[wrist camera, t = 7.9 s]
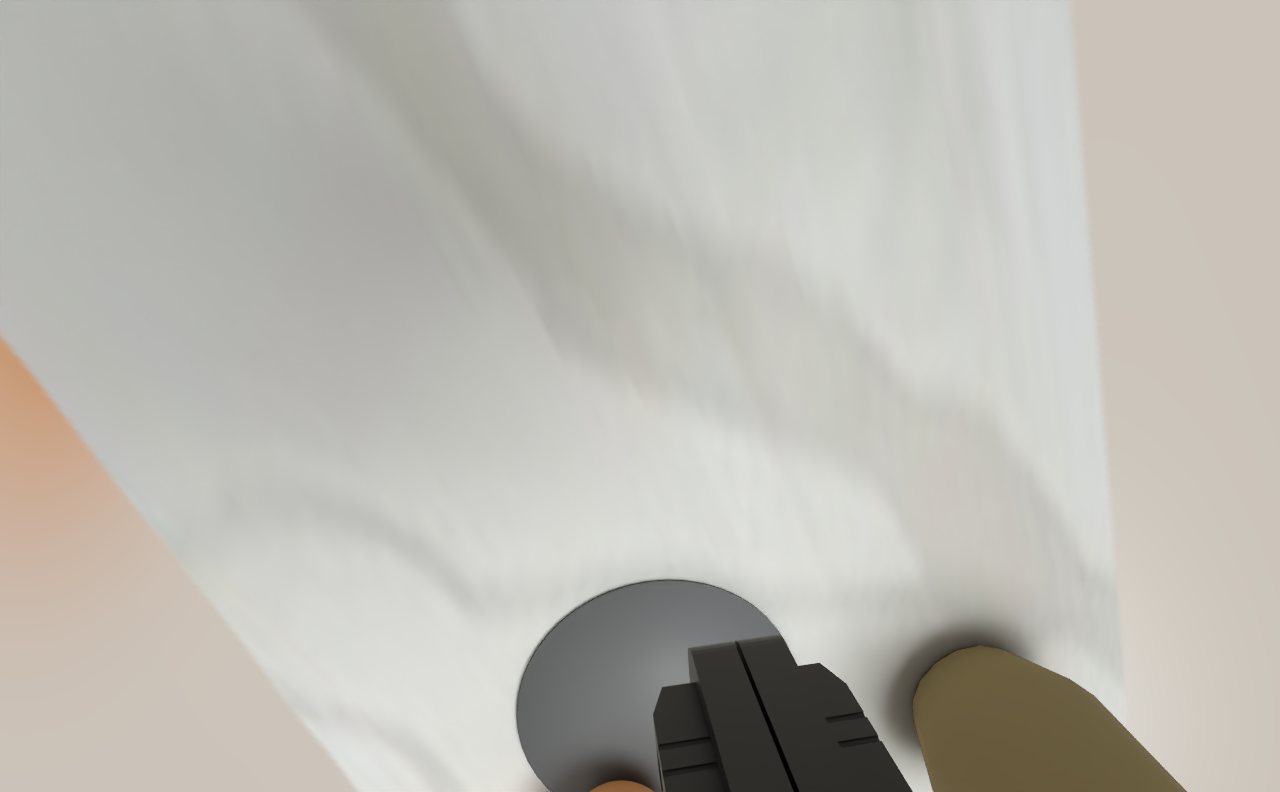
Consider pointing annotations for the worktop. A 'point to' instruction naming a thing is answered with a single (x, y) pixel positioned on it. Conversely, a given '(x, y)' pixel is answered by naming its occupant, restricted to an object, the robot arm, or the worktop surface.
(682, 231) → the worktop surface
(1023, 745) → the squeeze bottle
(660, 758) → the robot arm
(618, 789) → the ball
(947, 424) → the worktop surface
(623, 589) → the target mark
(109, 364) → the worktop surface
